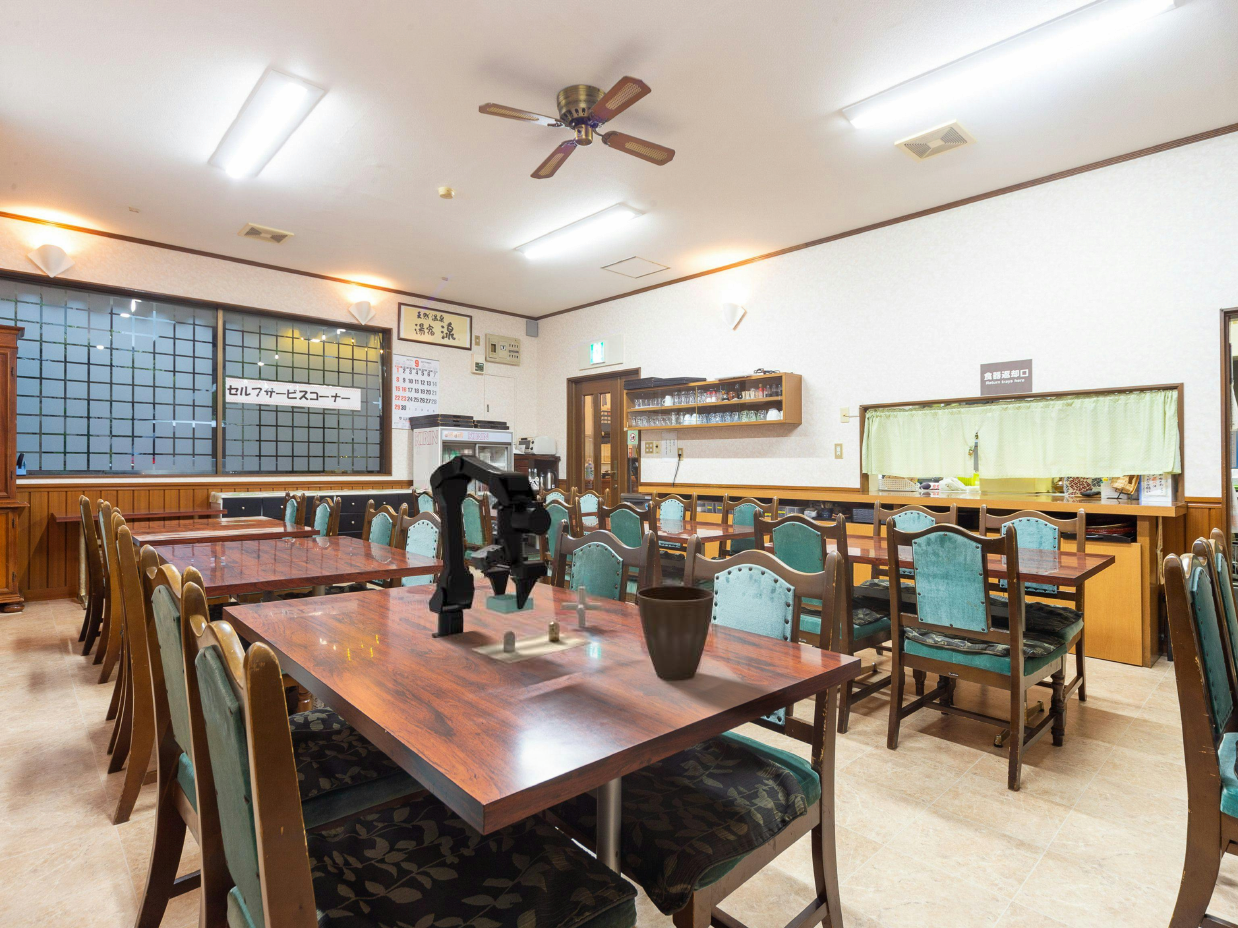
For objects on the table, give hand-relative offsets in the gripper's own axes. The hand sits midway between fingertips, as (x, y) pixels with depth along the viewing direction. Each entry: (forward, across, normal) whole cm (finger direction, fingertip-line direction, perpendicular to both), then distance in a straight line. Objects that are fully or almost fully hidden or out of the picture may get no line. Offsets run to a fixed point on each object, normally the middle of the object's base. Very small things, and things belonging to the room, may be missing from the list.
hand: (509, 606), depth 135 cm
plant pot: (+11, +31, +17) cm, 37 cm away
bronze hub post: (+9, 0, +12) cm, 15 cm away
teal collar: (0, 0, 0) cm, 0 cm away
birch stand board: (+11, 0, +6) cm, 12 cm away
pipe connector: (+11, -10, +29) cm, 33 cm away
